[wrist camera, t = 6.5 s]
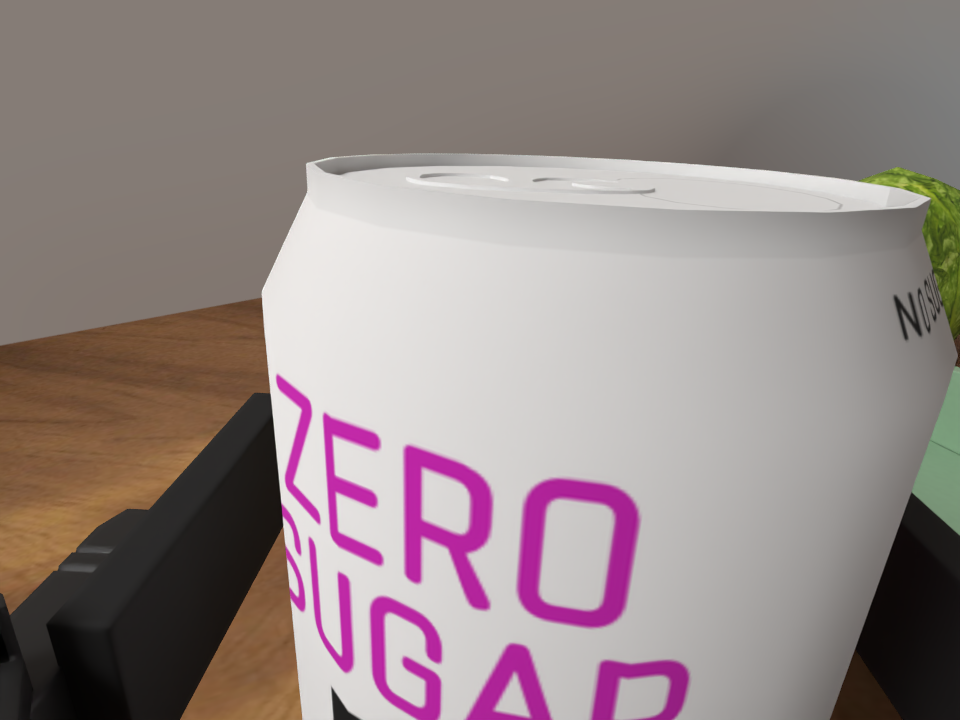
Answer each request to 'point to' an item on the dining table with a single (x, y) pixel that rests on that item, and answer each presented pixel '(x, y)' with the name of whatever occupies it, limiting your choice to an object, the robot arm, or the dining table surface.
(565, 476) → the white soda can
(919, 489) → the bin
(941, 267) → the lettuce
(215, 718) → the dining table surface
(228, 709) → the dining table surface
